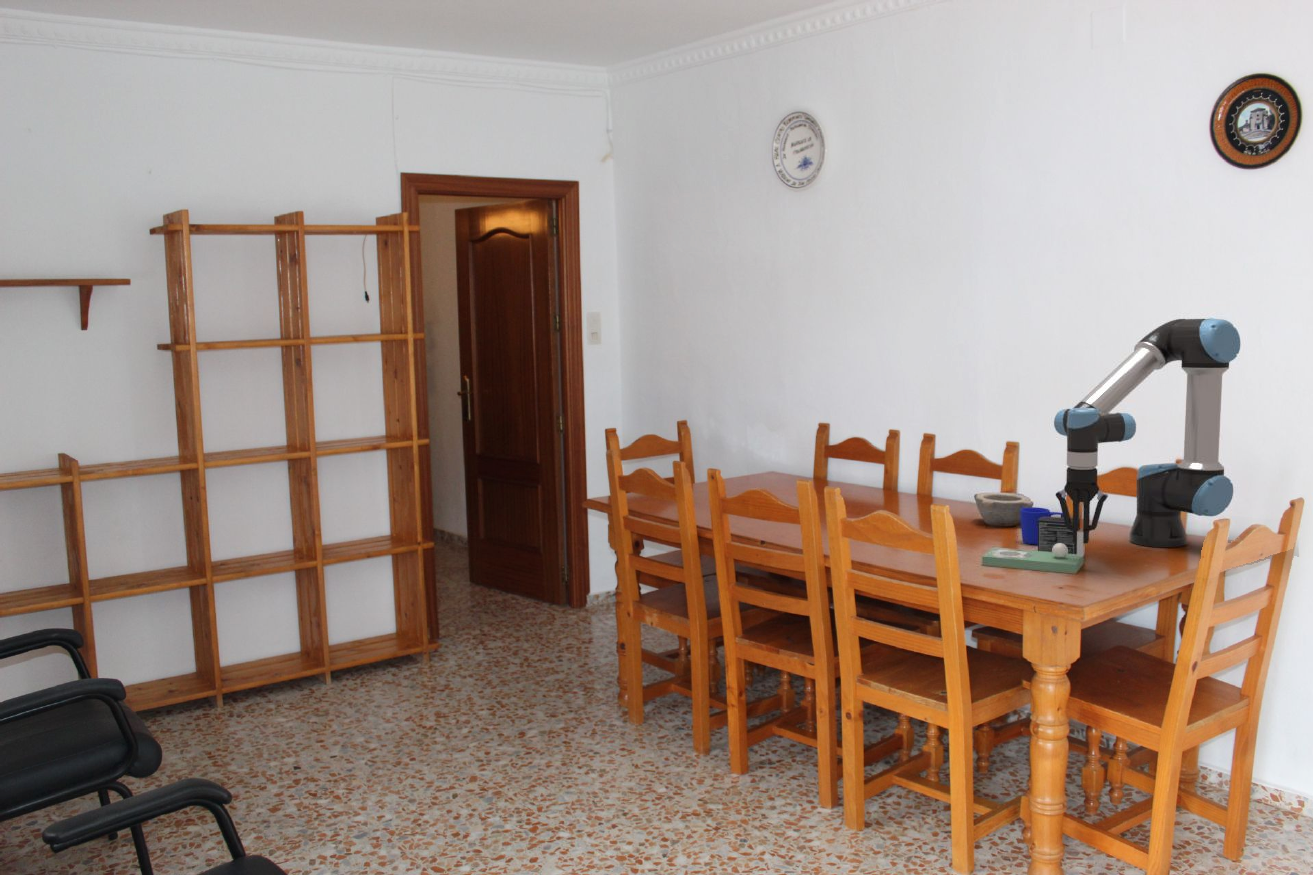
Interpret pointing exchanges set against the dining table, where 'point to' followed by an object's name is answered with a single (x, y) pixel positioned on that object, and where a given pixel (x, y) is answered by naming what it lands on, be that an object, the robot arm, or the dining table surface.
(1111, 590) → the dining table surface
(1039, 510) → the mug
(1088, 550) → the dining table surface
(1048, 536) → the small box
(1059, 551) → the ball
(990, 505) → the mortar
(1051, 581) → the dining table surface
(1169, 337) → the robot arm
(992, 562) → the green
